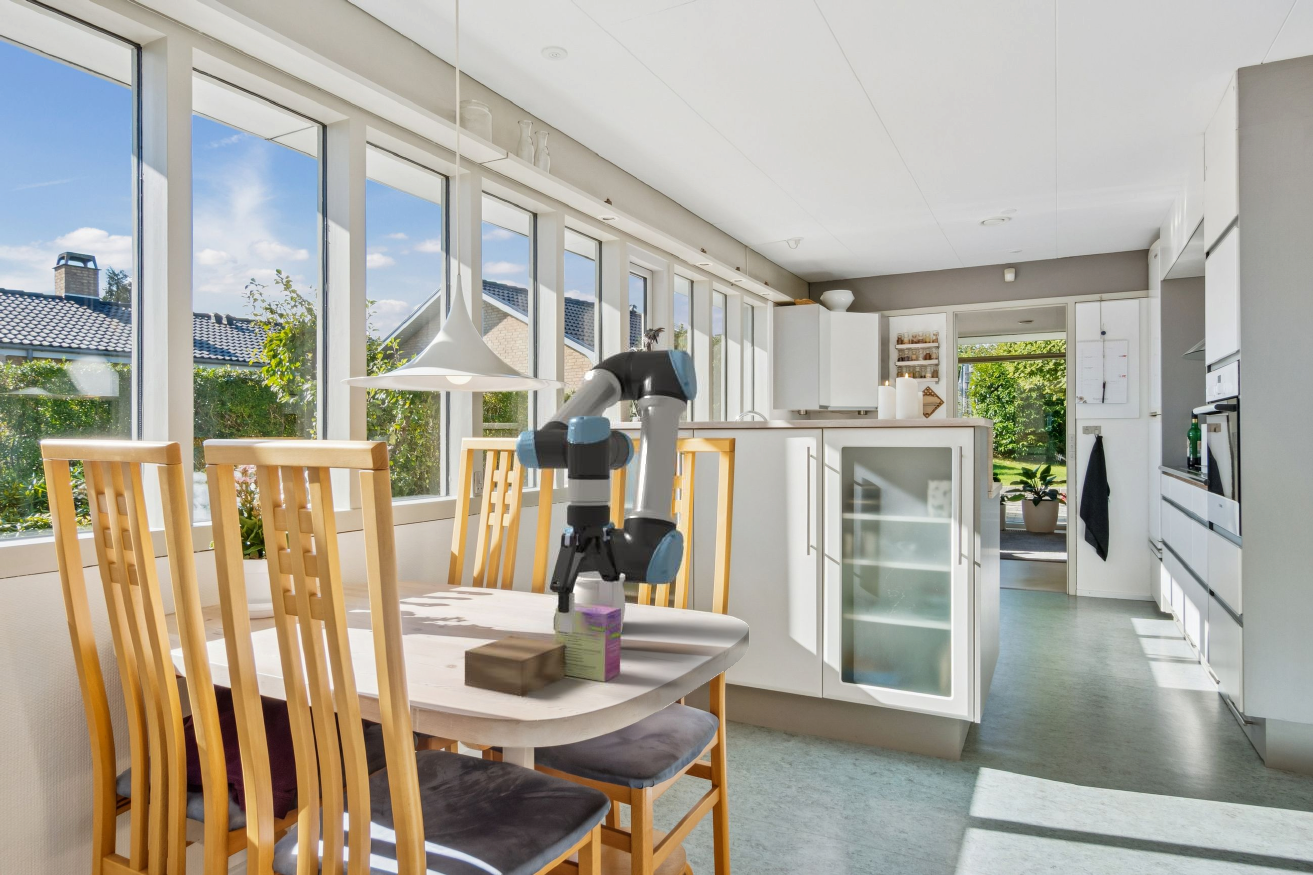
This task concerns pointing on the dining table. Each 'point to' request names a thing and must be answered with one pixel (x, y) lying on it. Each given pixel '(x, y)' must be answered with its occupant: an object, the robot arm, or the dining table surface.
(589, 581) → the jar
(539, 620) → the dining table surface
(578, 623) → the box
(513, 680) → the base block
